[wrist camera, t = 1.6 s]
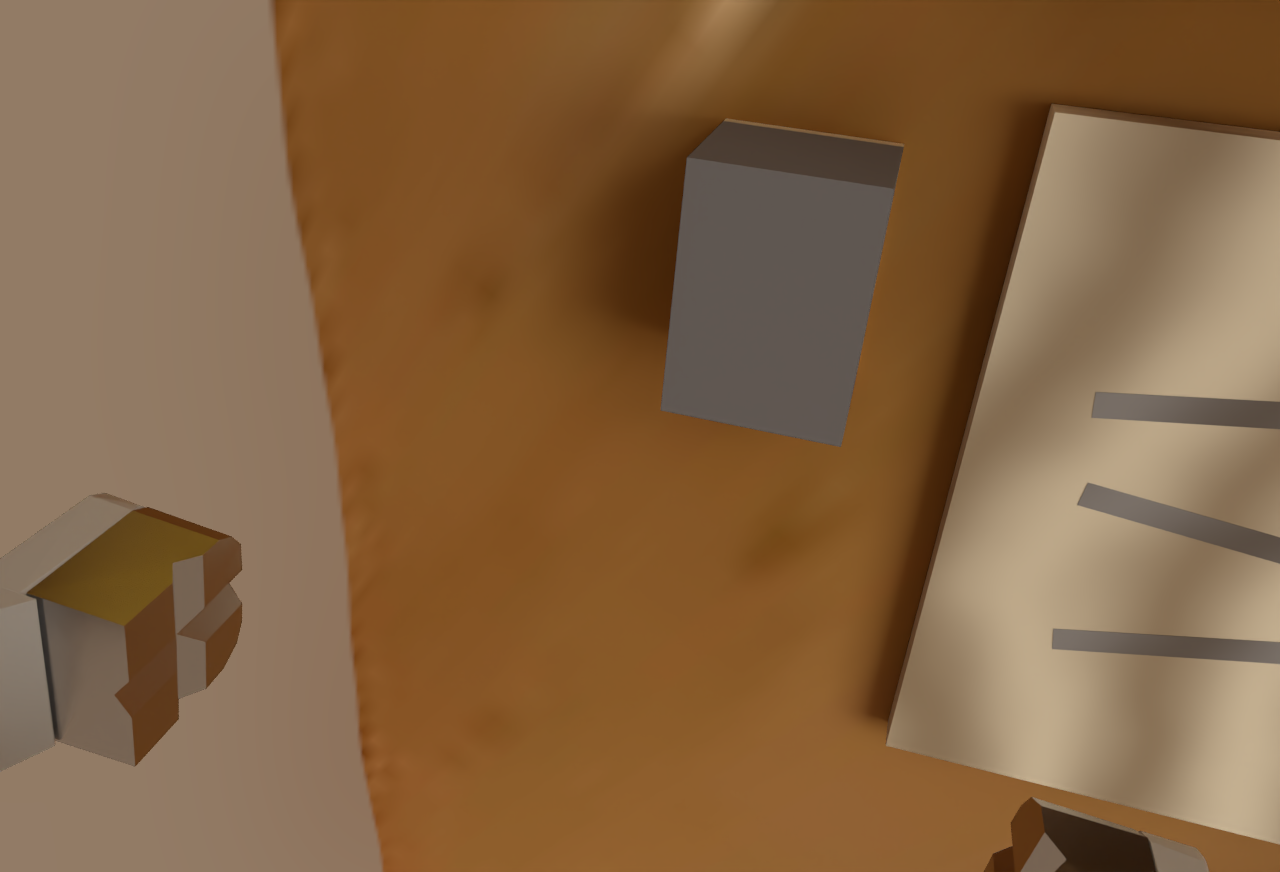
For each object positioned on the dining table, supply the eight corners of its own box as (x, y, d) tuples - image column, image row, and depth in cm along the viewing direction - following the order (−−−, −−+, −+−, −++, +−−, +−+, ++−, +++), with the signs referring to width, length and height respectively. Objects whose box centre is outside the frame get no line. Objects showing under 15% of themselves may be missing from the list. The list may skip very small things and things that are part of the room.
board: (1779, 193, 23) (1817, 208, 22) (1370, 840, 34) (1383, 870, 33) (1051, 103, 26) (1055, 112, 25) (887, 722, 37) (885, 746, 36)
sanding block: (904, 143, 28) (894, 188, 24) (857, 371, 32) (840, 446, 27) (726, 117, 29) (686, 157, 25) (699, 341, 32) (660, 410, 28)
